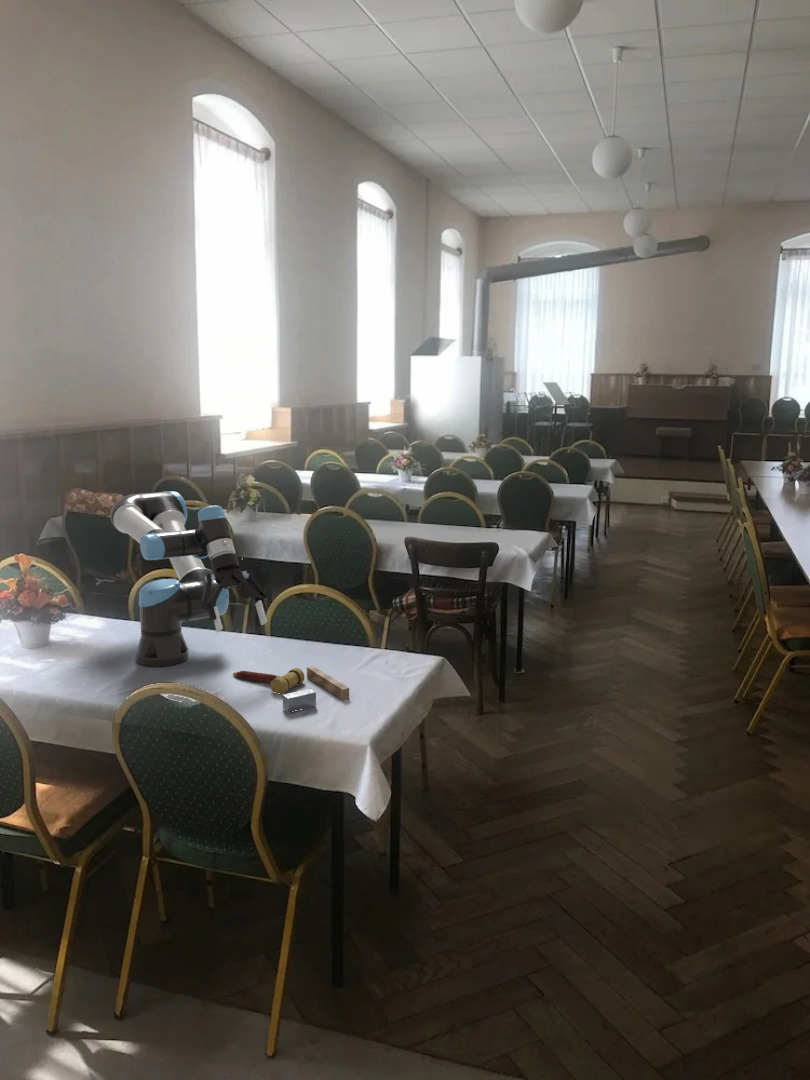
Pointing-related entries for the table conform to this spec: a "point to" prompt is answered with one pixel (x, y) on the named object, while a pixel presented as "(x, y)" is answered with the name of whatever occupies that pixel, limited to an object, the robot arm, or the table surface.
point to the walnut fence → (328, 683)
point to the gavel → (274, 679)
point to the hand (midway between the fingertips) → (242, 627)
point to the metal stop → (299, 700)
